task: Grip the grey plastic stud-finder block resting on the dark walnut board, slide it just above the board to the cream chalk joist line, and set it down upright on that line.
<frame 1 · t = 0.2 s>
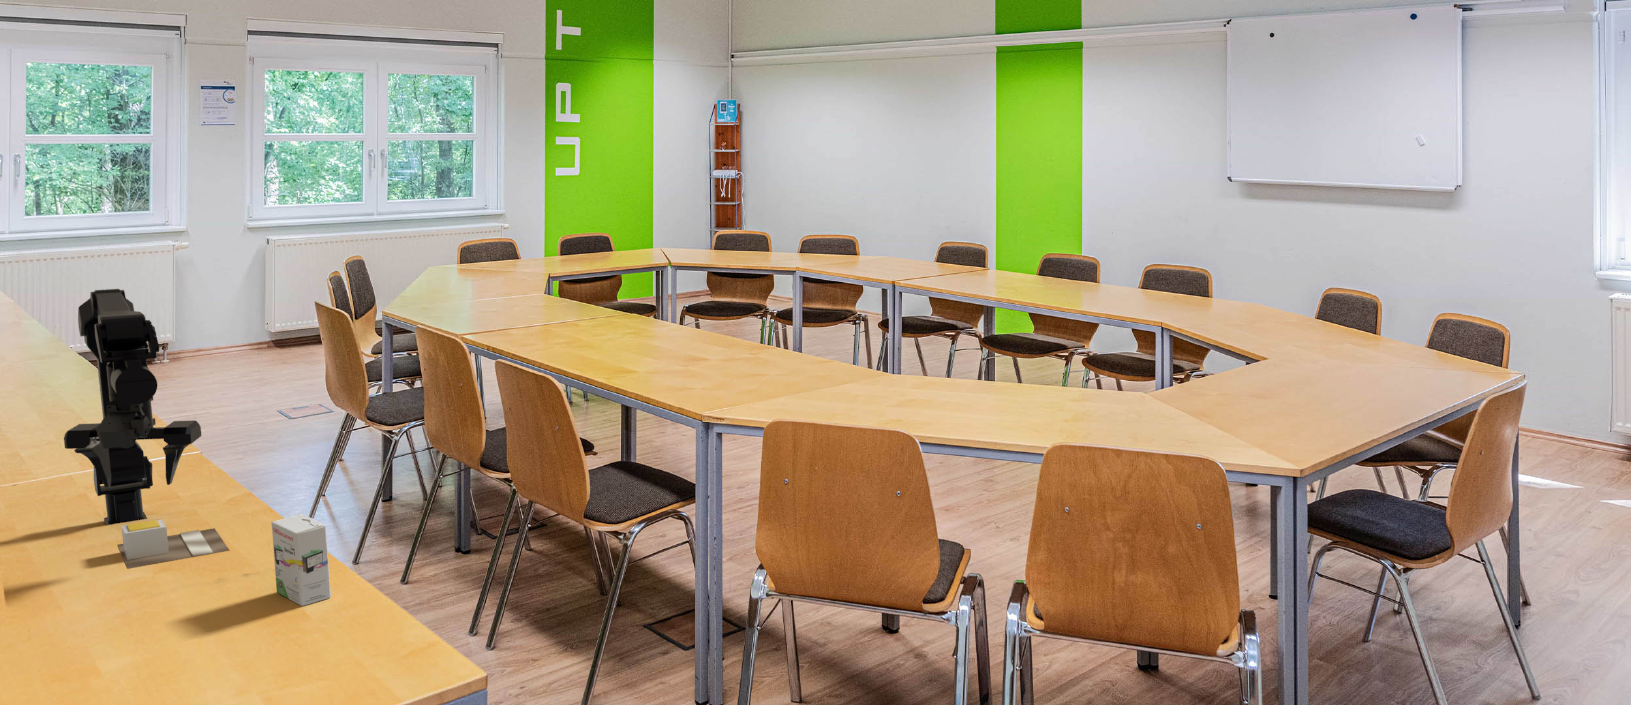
hand: (138, 485, 195), 14 cm above the table, tool pointing down, fingers open, 9 cm apart
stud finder: (146, 552, 199), point 1 cm above the table, touching subfloor board
ink box: (303, 596, 184), on the table
subfloor board: (173, 554, 202), on the table
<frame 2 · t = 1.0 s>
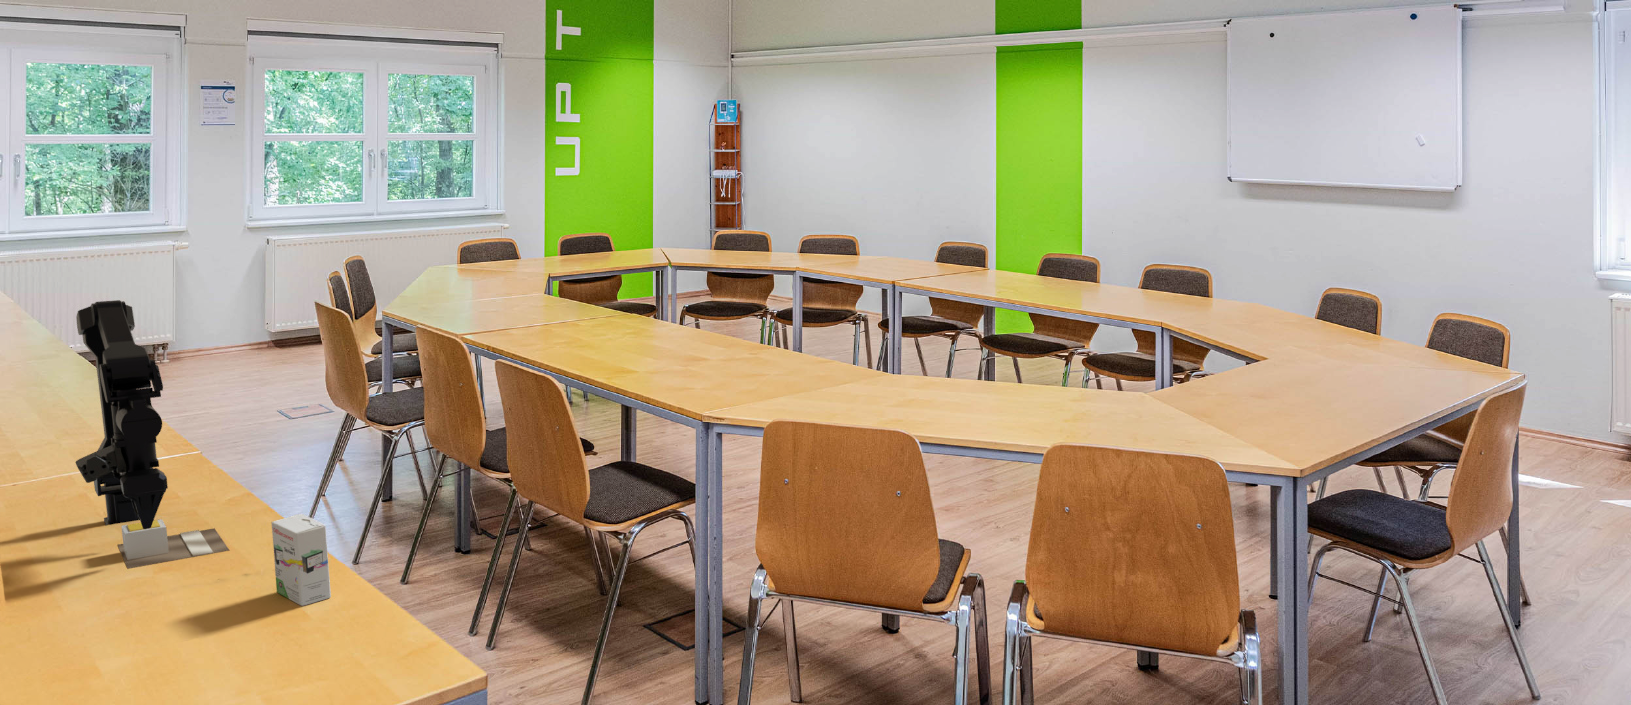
hand: (143, 521, 199), 7 cm above the table, tool pointing down, fingers open, 9 cm apart
nothing on the table moved.
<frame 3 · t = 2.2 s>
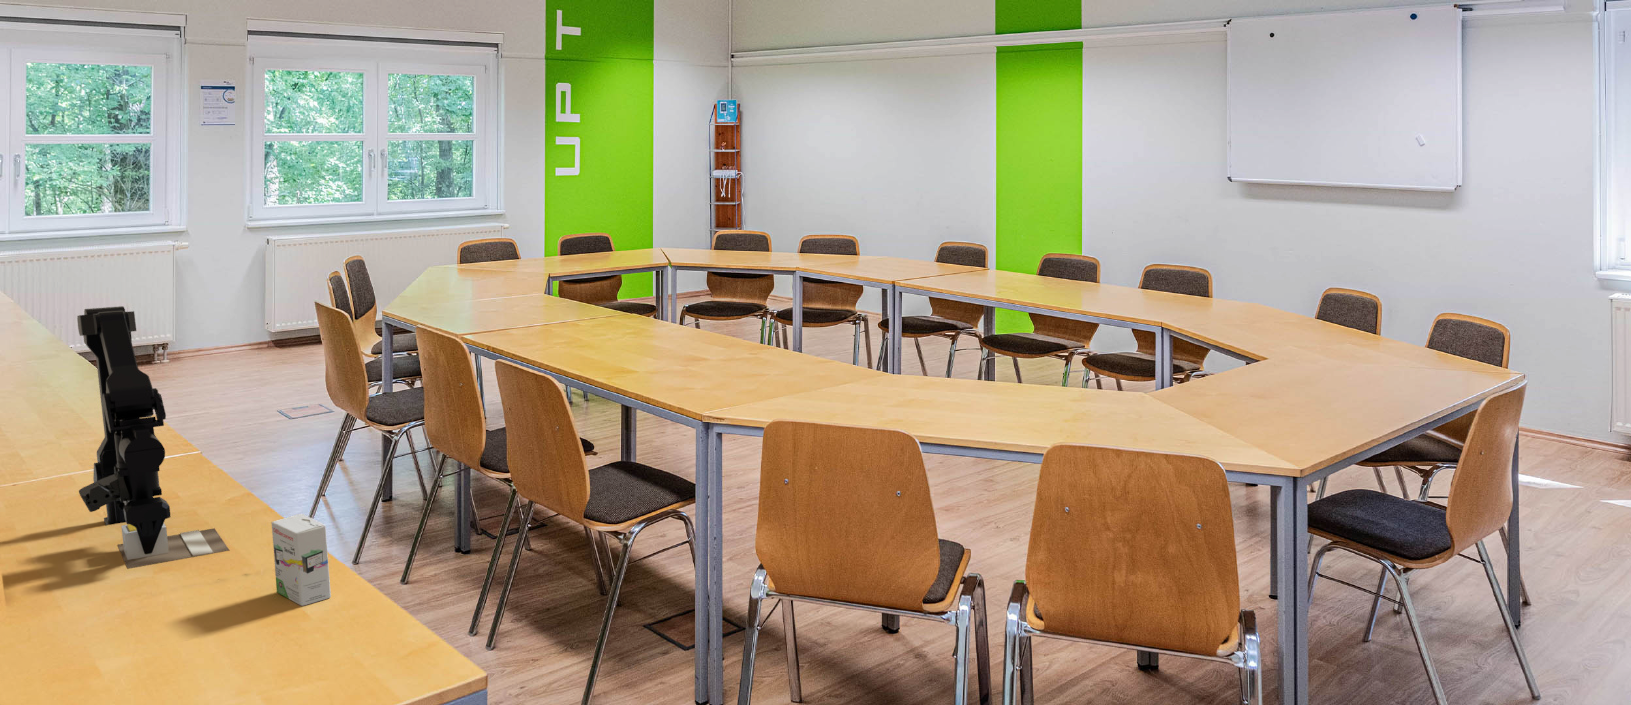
hand: (146, 549, 199), 2 cm above the table, tool pointing down, fingers closed on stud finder, 5 cm apart
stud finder: (146, 552, 199), point 1 cm above the table, touching gripper, subfloor board
everything else where it was.
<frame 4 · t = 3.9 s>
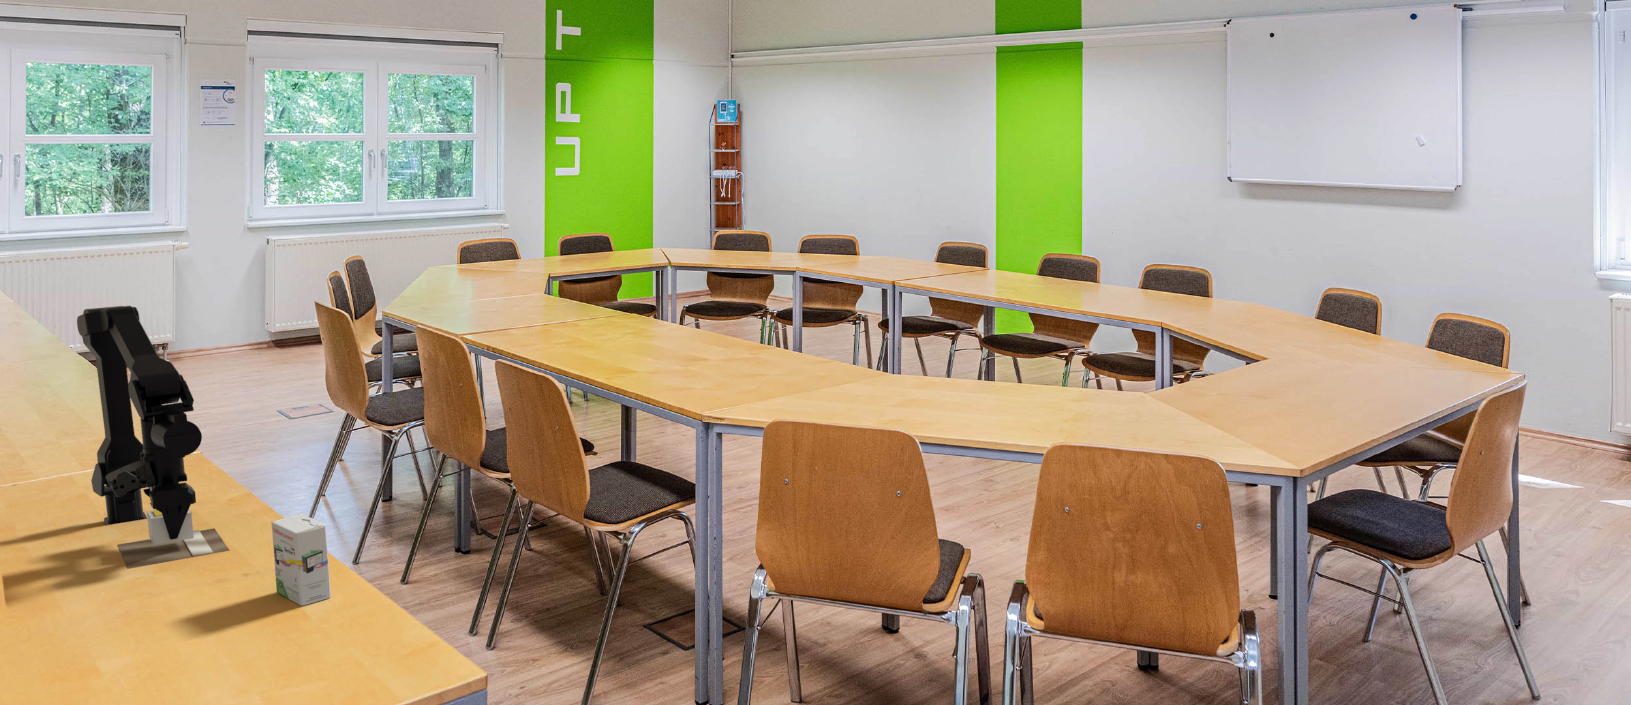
hand: (171, 534, 201), 3 cm above the table, tool pointing down, fingers closed on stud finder, 5 cm apart
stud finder: (171, 537, 201), point 3 cm above the table, touching gripper
everything else where it was.
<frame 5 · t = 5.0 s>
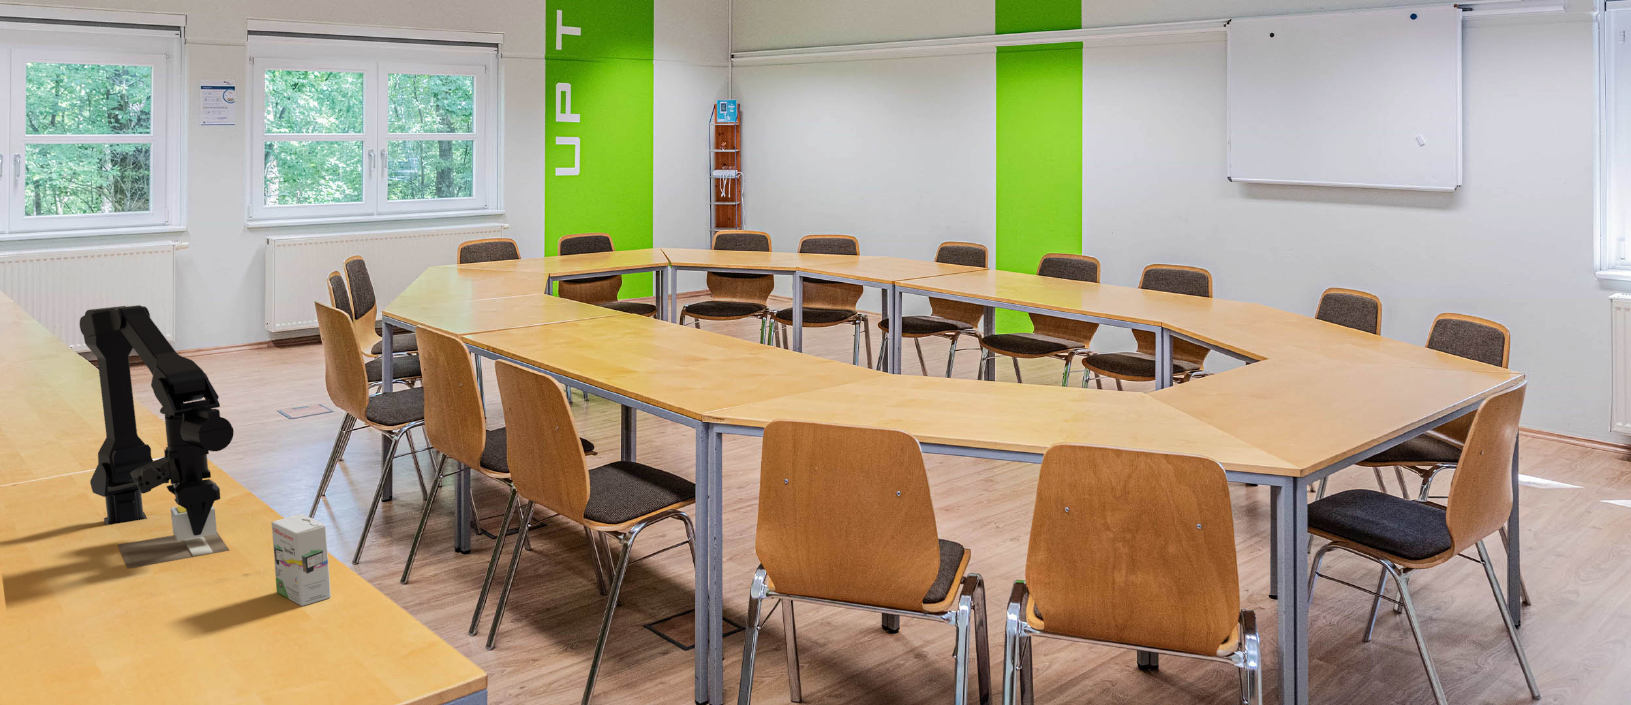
hand: (194, 530, 203), 3 cm above the table, tool pointing down, fingers closed on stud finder, 5 cm apart
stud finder: (195, 533, 203), point 3 cm above the table, touching gripper
everything else where it was.
when the fingers open (2 cm above the table, at t = 6.0 s): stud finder stays where it is, resting on subfloor board.
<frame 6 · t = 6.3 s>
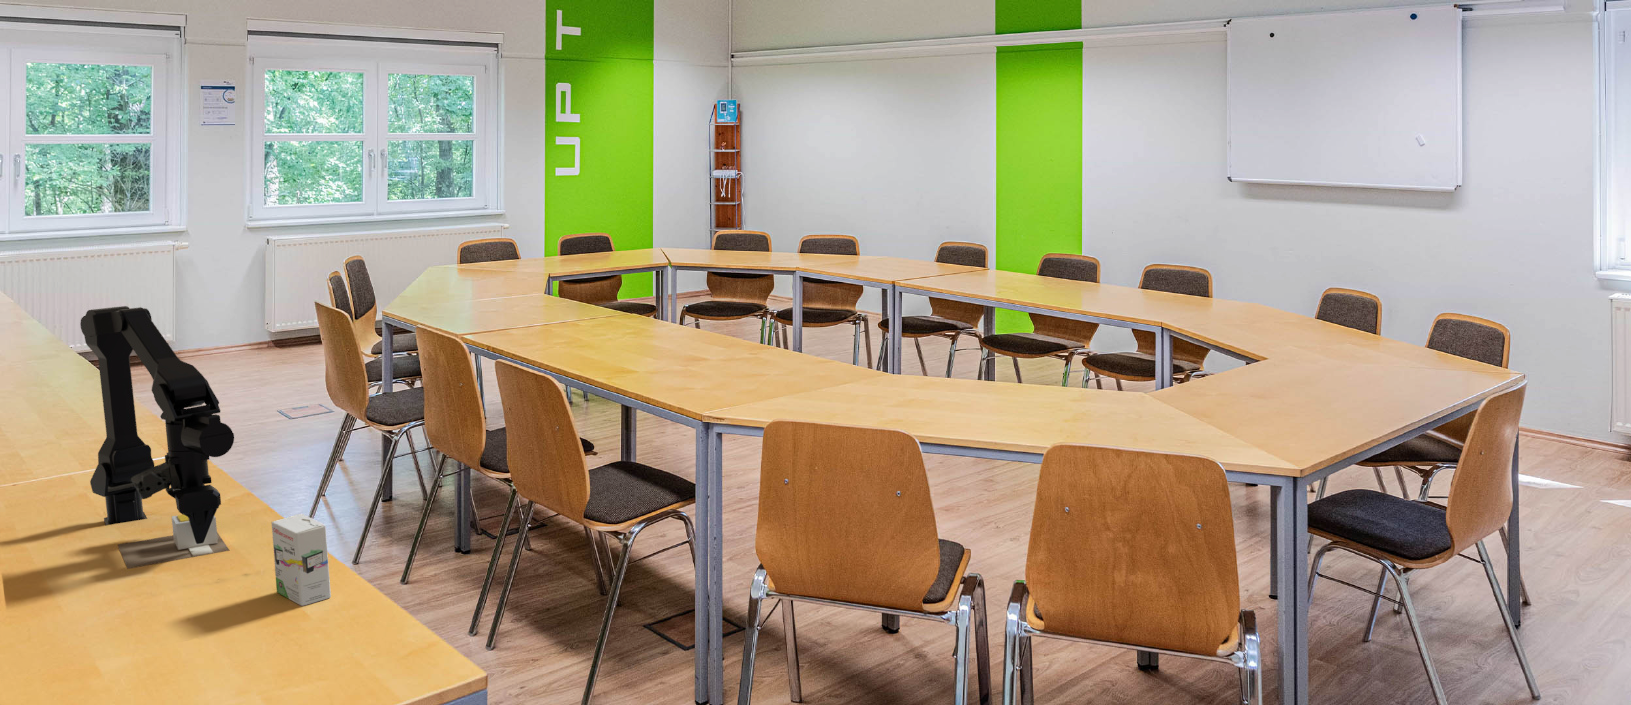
hand: (195, 536, 204), 2 cm above the table, tool pointing down, fingers open, 9 cm apart
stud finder: (195, 542, 204), point 1 cm above the table, touching subfloor board
everything else where it was.
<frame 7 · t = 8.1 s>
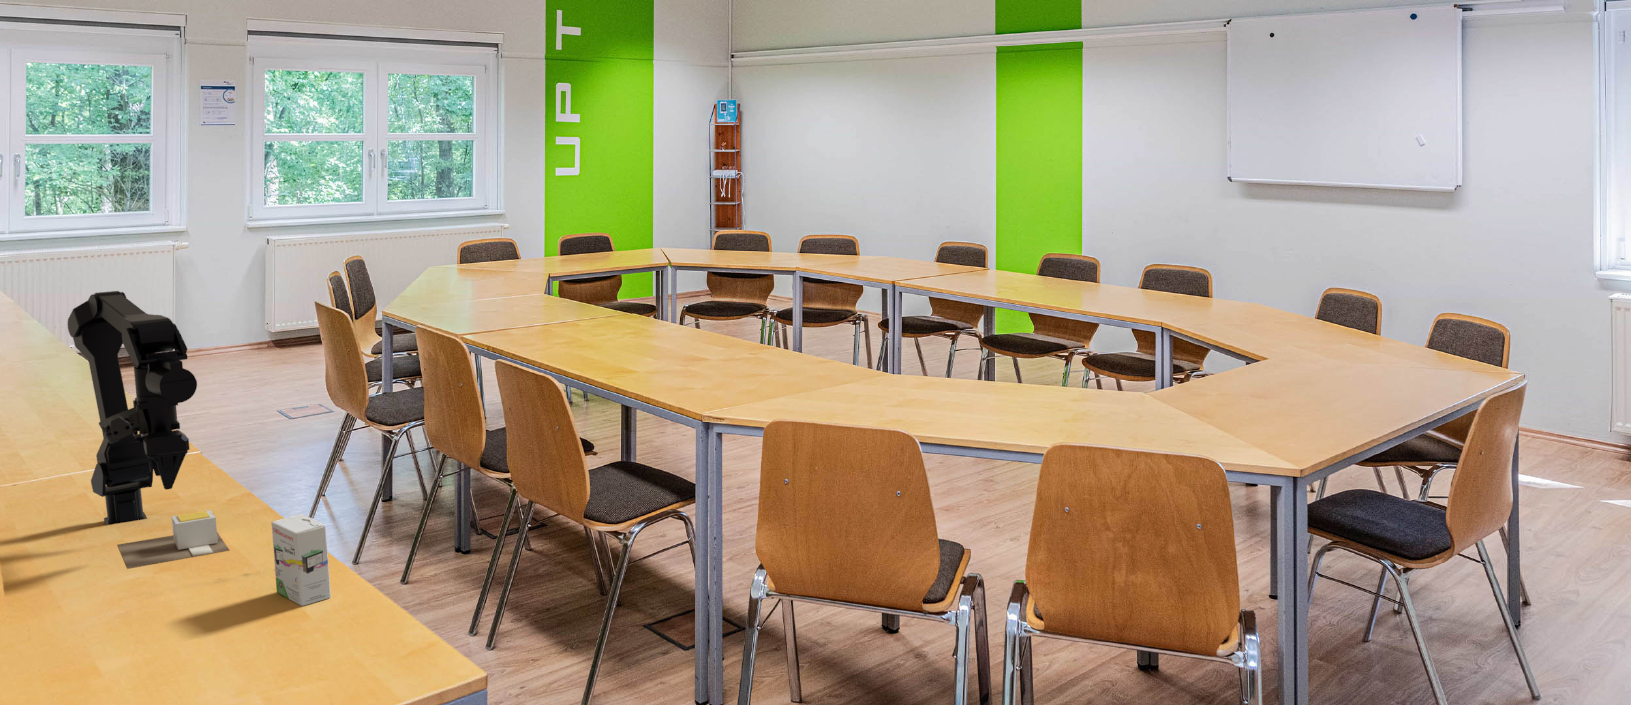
hand: (163, 482, 203), 12 cm above the table, tool pointing down, fingers open, 9 cm apart
nothing on the table moved.
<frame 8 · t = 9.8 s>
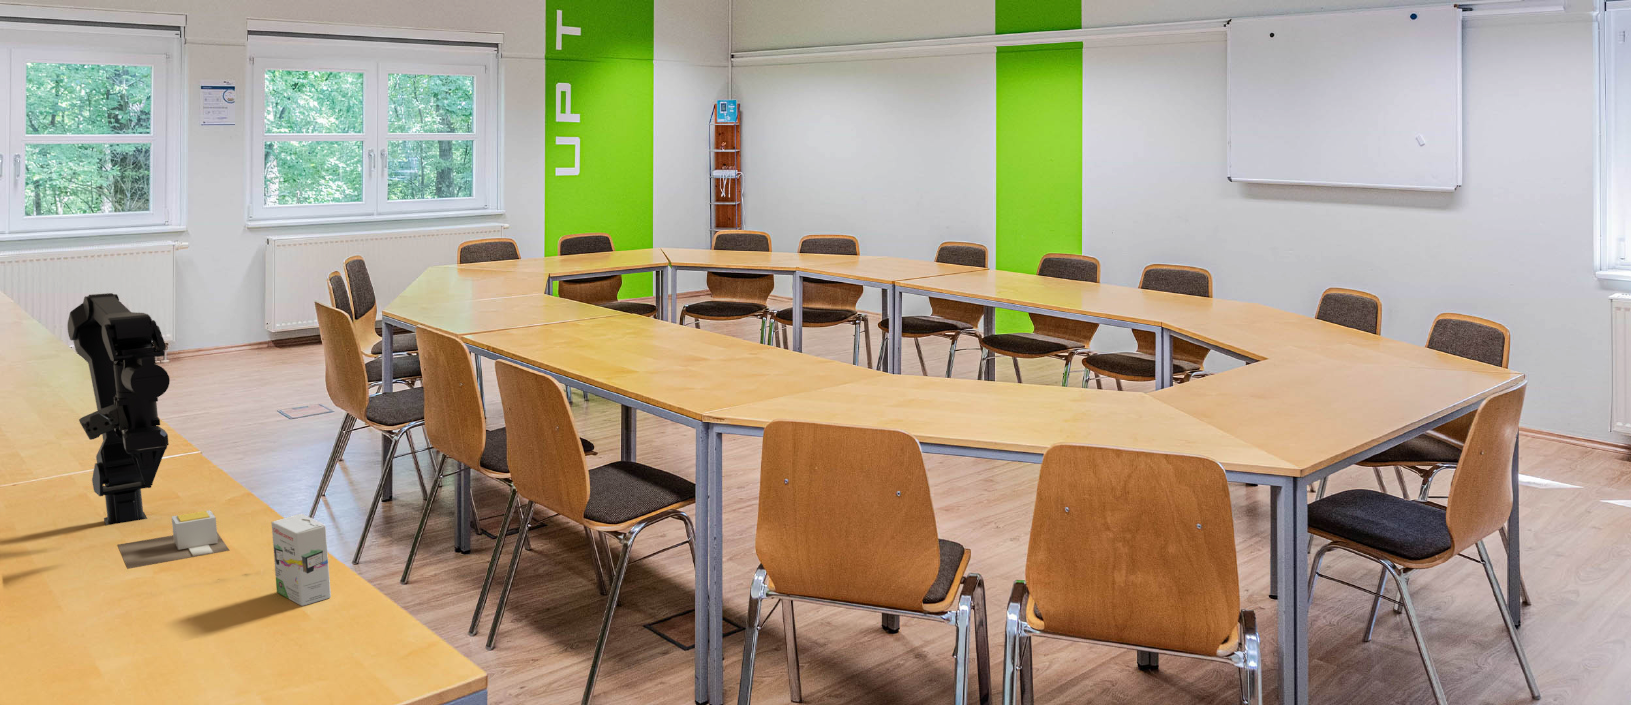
hand: (144, 478, 204), 12 cm above the table, tool pointing down, fingers open, 9 cm apart
nothing on the table moved.
at the end: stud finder 0.0 cm from the target spot, point 1.4 cm above the table; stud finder tilted 0°; the gripper is holding nothing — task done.
